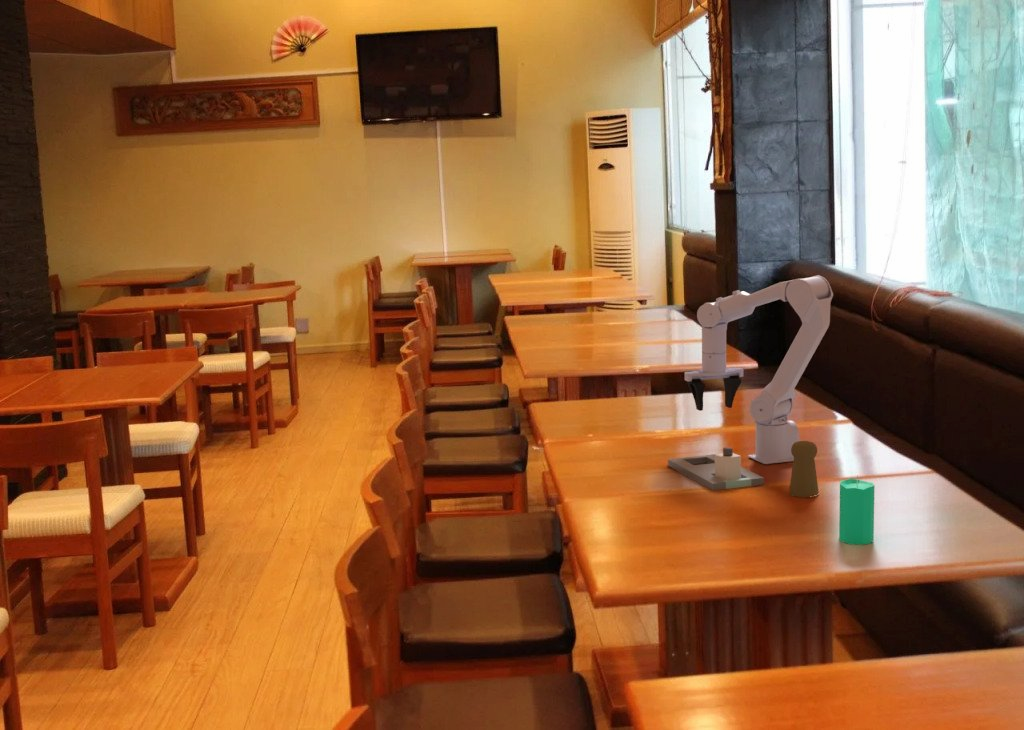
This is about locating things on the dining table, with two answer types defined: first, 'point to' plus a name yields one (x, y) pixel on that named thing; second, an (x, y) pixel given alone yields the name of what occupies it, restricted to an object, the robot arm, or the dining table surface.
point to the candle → (856, 512)
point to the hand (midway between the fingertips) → (714, 408)
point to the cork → (804, 470)
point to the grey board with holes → (712, 473)
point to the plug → (727, 465)
